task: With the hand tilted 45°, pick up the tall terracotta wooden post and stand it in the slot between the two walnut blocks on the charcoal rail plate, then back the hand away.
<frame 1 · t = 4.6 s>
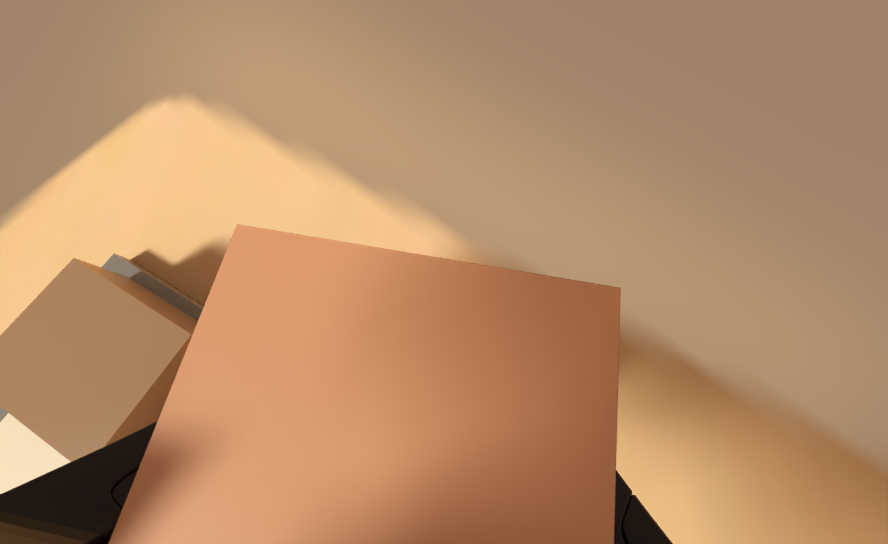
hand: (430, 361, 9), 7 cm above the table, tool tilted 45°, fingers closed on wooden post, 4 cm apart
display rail: (24, 524, 14), on the table
wooden post: (431, 406, 15), on the table, touching gripper
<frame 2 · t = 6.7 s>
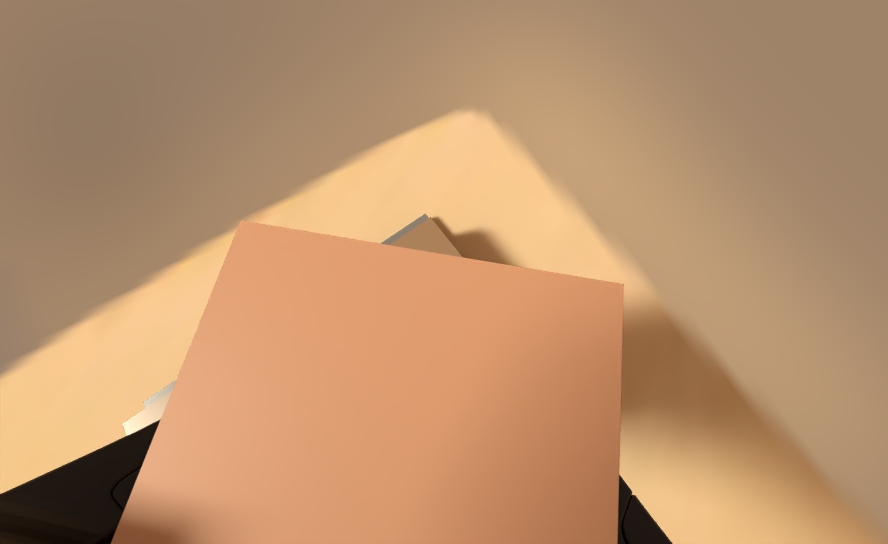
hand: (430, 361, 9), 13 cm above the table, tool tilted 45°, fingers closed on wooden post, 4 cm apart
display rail: (336, 361, 21), on the table
wooden post: (432, 405, 15), point 6 cm above the table, touching gripper
when the fingers open (9 cm above the table, at t = 8.9 s): wooden post drops 1 cm, resting on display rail.
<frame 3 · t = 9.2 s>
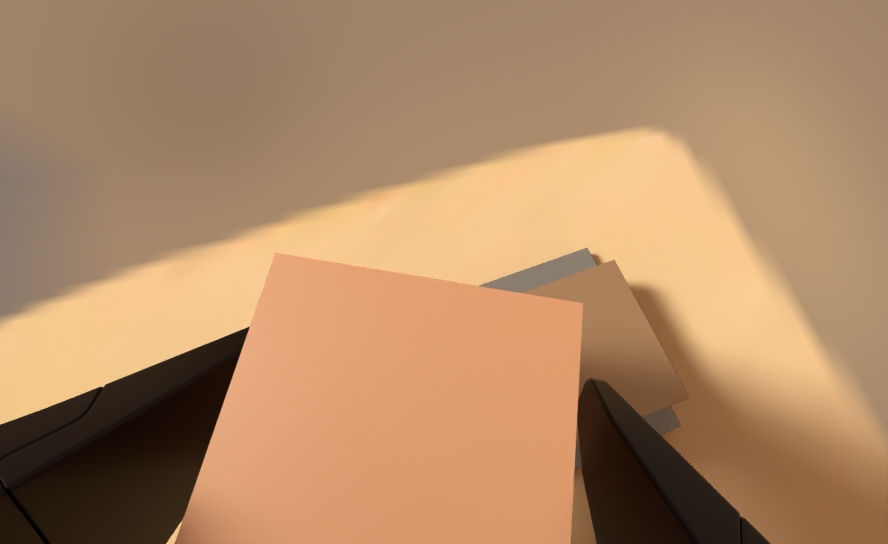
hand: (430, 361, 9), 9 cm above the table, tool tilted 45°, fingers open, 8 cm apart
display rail: (433, 403, 17), on the table
wooden post: (432, 403, 16), point 1 cm above the table, touching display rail
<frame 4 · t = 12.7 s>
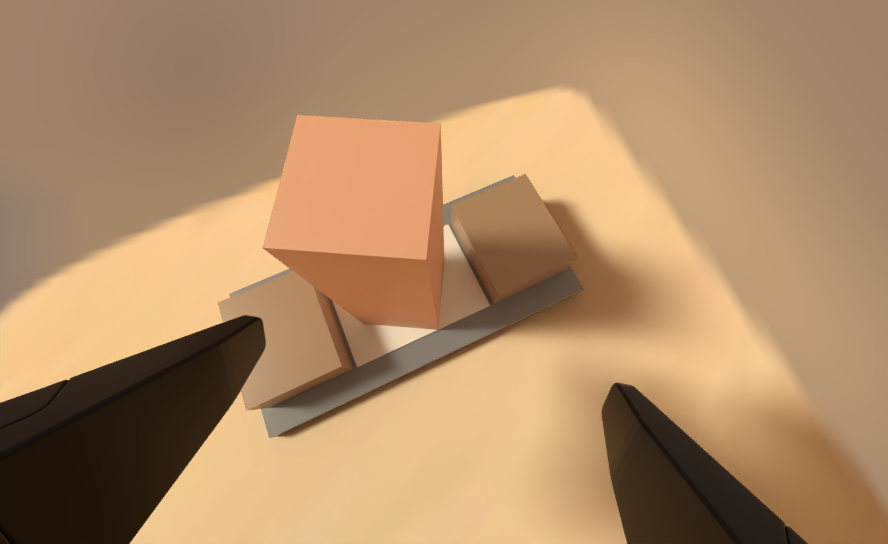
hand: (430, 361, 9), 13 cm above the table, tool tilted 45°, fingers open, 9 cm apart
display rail: (407, 294, 22), on the table
wooden post: (405, 290, 22), point 1 cm above the table, touching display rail
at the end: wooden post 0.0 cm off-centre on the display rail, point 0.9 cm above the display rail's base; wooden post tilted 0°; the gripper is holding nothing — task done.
